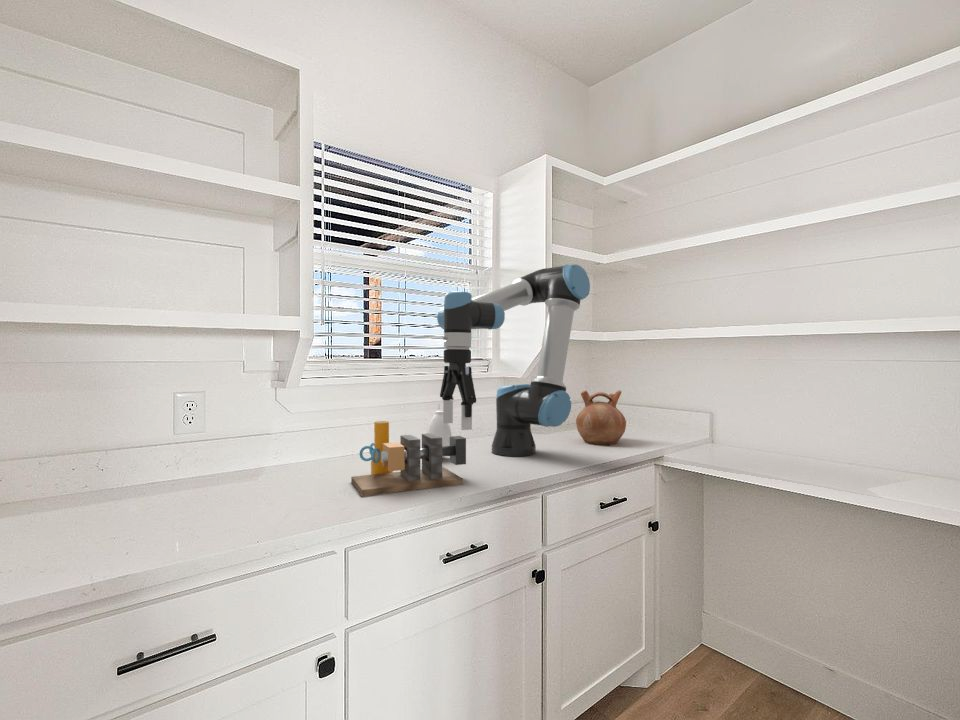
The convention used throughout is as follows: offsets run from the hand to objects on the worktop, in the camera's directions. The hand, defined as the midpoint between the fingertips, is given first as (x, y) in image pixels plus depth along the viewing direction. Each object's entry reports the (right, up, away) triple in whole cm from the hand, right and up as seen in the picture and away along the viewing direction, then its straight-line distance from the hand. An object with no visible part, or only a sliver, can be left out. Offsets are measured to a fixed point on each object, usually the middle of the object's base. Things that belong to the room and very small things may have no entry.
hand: (456, 426), depth 138 cm
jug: (+52, -13, +54) cm, 76 cm away
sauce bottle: (-7, -14, +25) cm, 29 cm away
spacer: (-16, -10, -7) cm, 20 cm away
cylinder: (-21, -14, +2) cm, 25 cm away
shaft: (-9, -10, -4) cm, 14 cm away
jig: (-13, -14, -6) cm, 20 cm away
